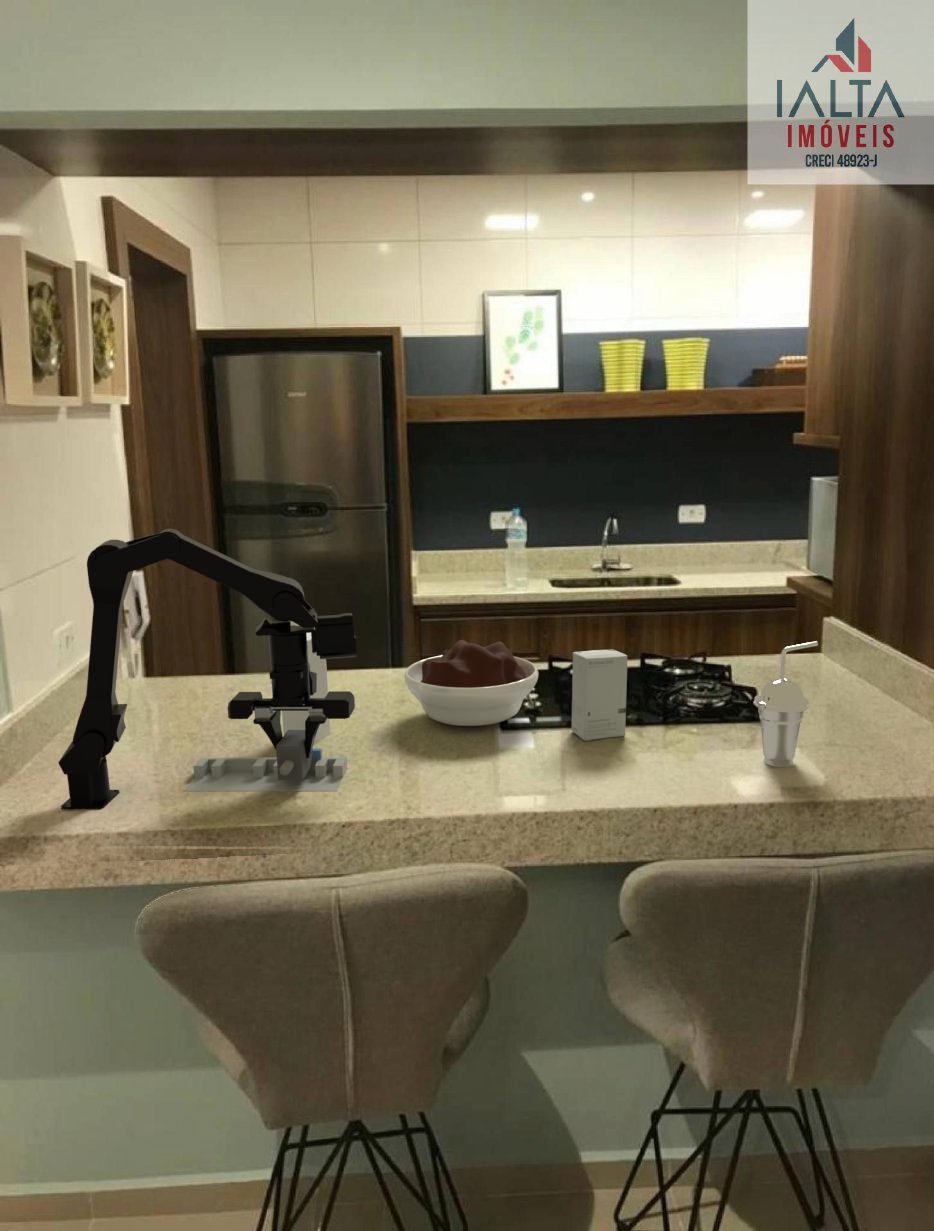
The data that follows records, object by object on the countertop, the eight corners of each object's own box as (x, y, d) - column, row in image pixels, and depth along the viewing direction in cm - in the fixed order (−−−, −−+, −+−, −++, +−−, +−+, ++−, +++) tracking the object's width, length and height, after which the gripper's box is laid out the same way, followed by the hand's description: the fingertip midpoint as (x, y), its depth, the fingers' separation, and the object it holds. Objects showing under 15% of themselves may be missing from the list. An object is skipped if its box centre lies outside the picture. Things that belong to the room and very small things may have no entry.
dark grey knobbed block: (298, 787, 142) (296, 753, 141) (273, 787, 142) (270, 753, 141) (313, 762, 152) (311, 729, 151) (289, 762, 152) (287, 729, 151)
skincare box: (584, 742, 164) (584, 659, 161) (570, 731, 170) (570, 651, 166) (627, 736, 166) (629, 654, 163) (612, 725, 172) (613, 646, 169)
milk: (283, 741, 168) (274, 620, 163) (303, 731, 173) (295, 613, 168) (312, 746, 165) (303, 623, 160) (331, 735, 170) (323, 616, 166)
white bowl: (378, 719, 179) (375, 642, 175) (473, 690, 195) (471, 619, 192) (470, 751, 161) (468, 665, 158) (566, 716, 178) (566, 638, 174)
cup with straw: (756, 749, 158) (761, 633, 154) (813, 757, 154) (820, 638, 150) (746, 766, 151) (751, 645, 147) (805, 775, 147) (812, 651, 143)
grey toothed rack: (336, 792, 145) (335, 769, 144) (183, 792, 146) (180, 769, 145) (347, 770, 153) (346, 748, 153) (202, 770, 155) (200, 748, 154)
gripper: (358, 647, 152) (362, 739, 155) (244, 648, 153) (250, 739, 156) (345, 666, 141) (350, 764, 144) (223, 666, 142) (230, 764, 145)
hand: (295, 757), depth 148 cm, fingers closed on dark grey knobbed block, 4 cm apart
